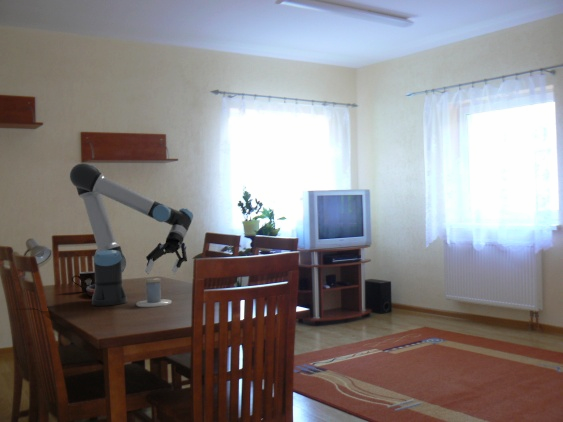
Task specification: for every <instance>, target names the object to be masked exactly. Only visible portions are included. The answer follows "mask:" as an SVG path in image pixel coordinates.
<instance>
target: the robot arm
mask: <svg viewBox="0 0 563 422" xmlns="http://www.w3.org/2000/svg"><path fill="white" fill-rule="evenodd" d="M69 179H70V182H71V183H72V185H73V186H75V188H76V191H77V194H78V197H79V198H81V199H82V200H83V204H84V206H85V209H86V214H87V217H88V220H89V223H90V226H91V230H92V233H93V237H94V240H95V243H96V247H97V248H96V251H95V253H94V257H93V263H94V272H95V290H94V294H93V297H92V296H91V297H92V298H91V305H92V306H98V307H102V306H117V305H122V304H123V305H124V304H126V303H128V302H127V301H128V297H127V294H126V292H125V289H124V287H123V272H124V270H125V269H126V267H127V259H126V256H125V255H124V254H123V249H122V247H121V245H120V244H119V243H117V242H116V238H115V235H114V232H113V228H112V226H111V225H112V224H111V221H110V217H109V215H108V212H107V208H106V204H105V201H104V197H103V196H105V197H106V198H109V199H111V200H113V201H115V202H116V203H117V202H118V203H119V204H122V205H123V206H126V207H129V208H131V209H132V210H134V211H137V212H139V213H141V214H143V215H146V216H147V217H150V218H152V219H154V220H155V221H157V222H159V223H166V224H168V225H170V226H171V228H170V230H169V232H168V234H167V236H166V238H165V243H163V244H162V243H161V242H159V243H158V244H157V245H156V247H155V248H154V249H153V250H152V251H151V252H149V253H148V255H146V256H145V258H146V260H147V263H146V268H145V273H146V274H147V275H150V273H151V271H152V268H153V267H154V265H155V261H157V260H158V259H159V258H161V257H162V256H164V255H166V254H174V253H175V255H176V256H177V259H176V260H175V262H174V265H173V267H172V269H171V272H172V274H173V275H176V274H177V272H178V270H179V268H181V266H182V263H183V262H188V257H187V251H186V250H187V245H186V243H185V242H184V239H185V238H186V235H187V232H188V230H189V228H190V226H191V224H192V221H193V219H194V214H193V212H192V211H191V210H190V209H188V208H181V209H179V210H178V209H177V210H176V209H174V208H173V207H170V206H167V205H165V204H163V203H160V202H158V201H156V200H154V199H152V198H150V197H148V196H146V195H143V194H141V193H139V192H137V191H135V190H133V189H130V188H129V187H127V186H124V185H122V184H120V183H118V182H116V181H114V180H111V179H110V178H108V177H105V176H104V173H102V172H101V171H99V169H98V168H97V167H96V166H94V165H91V164H89V163H83V162H82V163H78V164H76V165H74V166H73V167H72V168H71V170H70V172H69ZM179 249H181V255H180V253H179V251H178V250H179ZM181 256H182V257H181Z"/></svg>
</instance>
